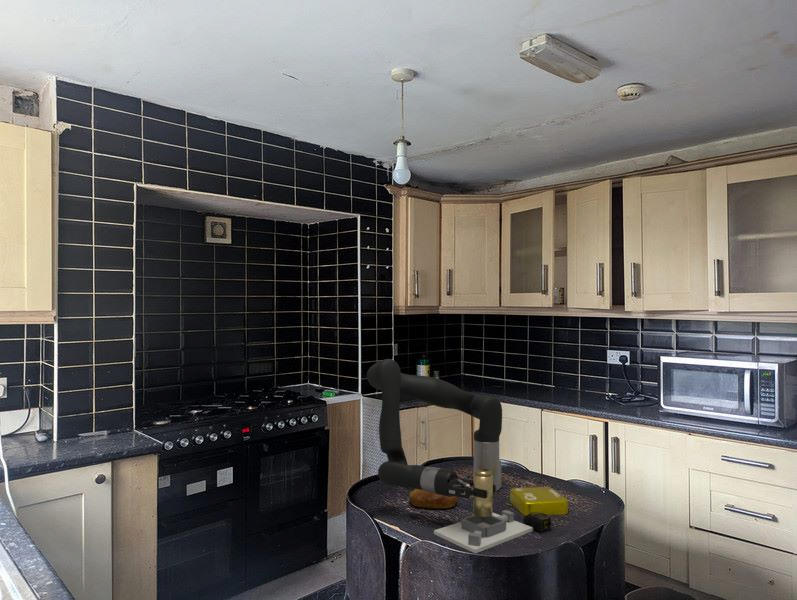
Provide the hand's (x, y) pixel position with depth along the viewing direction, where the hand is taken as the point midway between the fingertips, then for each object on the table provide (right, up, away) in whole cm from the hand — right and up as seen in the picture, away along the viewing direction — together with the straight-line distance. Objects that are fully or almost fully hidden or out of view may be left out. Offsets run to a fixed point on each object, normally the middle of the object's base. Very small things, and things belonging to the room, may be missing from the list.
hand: (491, 491), depth 152 cm
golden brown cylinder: (-2, -7, +1) cm, 7 cm away
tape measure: (+14, -13, +4) cm, 20 cm away
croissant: (-15, -13, +26) cm, 32 cm away
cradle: (-2, -12, +1) cm, 12 cm away
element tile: (+19, -13, +22) cm, 32 cm away
